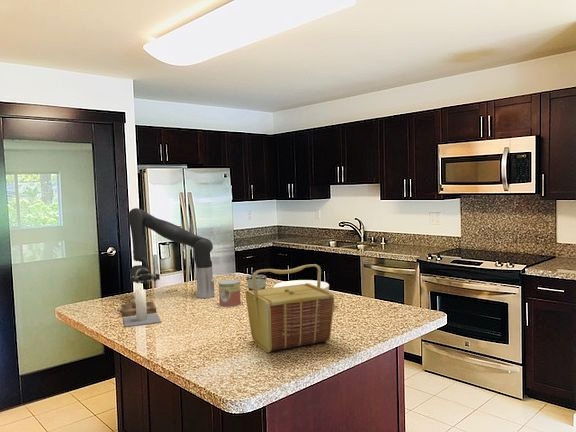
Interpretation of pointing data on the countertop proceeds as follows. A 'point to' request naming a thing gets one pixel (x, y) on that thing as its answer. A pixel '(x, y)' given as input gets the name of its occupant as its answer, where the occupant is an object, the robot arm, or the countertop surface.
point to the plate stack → (298, 282)
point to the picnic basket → (289, 313)
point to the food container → (259, 282)
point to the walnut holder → (131, 309)
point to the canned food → (229, 293)
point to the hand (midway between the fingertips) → (146, 280)
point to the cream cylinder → (141, 305)
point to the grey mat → (133, 321)
